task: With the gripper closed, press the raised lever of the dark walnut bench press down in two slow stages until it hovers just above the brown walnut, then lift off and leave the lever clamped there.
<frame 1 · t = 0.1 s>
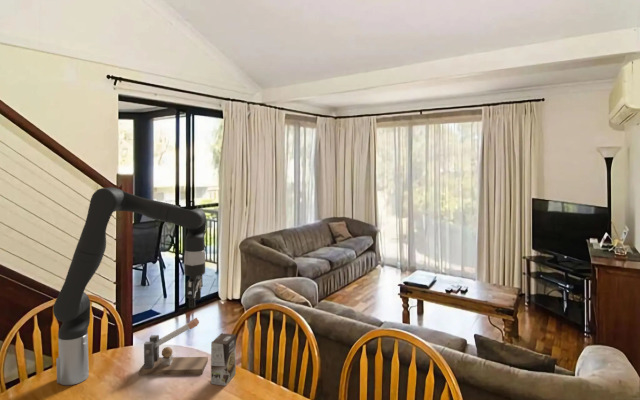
hand: (194, 303, 145), 29 cm above the table, tool pointing down, fingers open, 8 cm apart
press base: (174, 368, 153), on the table
coffee box: (223, 379, 146), on the table
lever: (173, 334, 152), point 14 cm above the table, hinge at 30.0°
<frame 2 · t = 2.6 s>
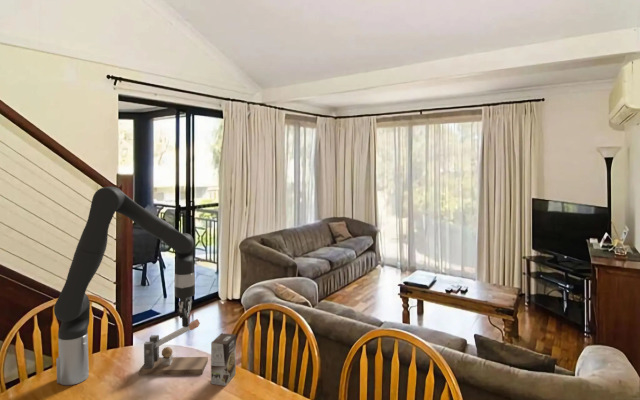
hand: (185, 326, 152), 17 cm above the table, tool pointing down, fingers closed
lever: (173, 335, 152), point 14 cm above the table, hinge at 28.3°, touching gripper
everything else where it was.
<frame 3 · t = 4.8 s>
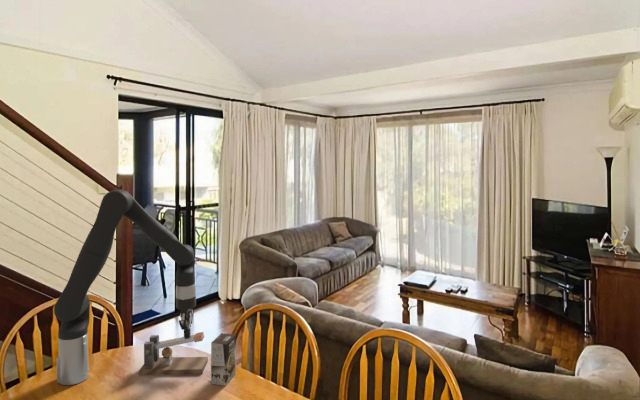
hand: (187, 337, 152), 13 cm above the table, tool pointing down, fingers closed
lever: (176, 341, 152), point 11 cm above the table, hinge at 11.6°, touching gripper
everything else where it was.
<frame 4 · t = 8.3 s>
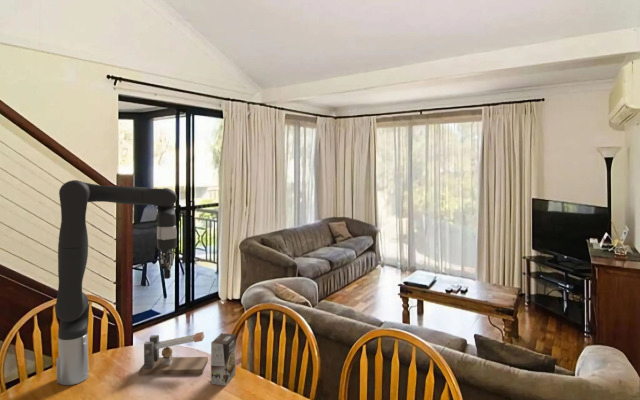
hand: (167, 278, 157), 35 cm above the table, tool pointing down, fingers closed
lever: (176, 341, 152), point 11 cm above the table, hinge at 11.6°
everything else where it was.
at the end: lever at +12° (first picture: +30°); the gripper is holding nothing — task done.
